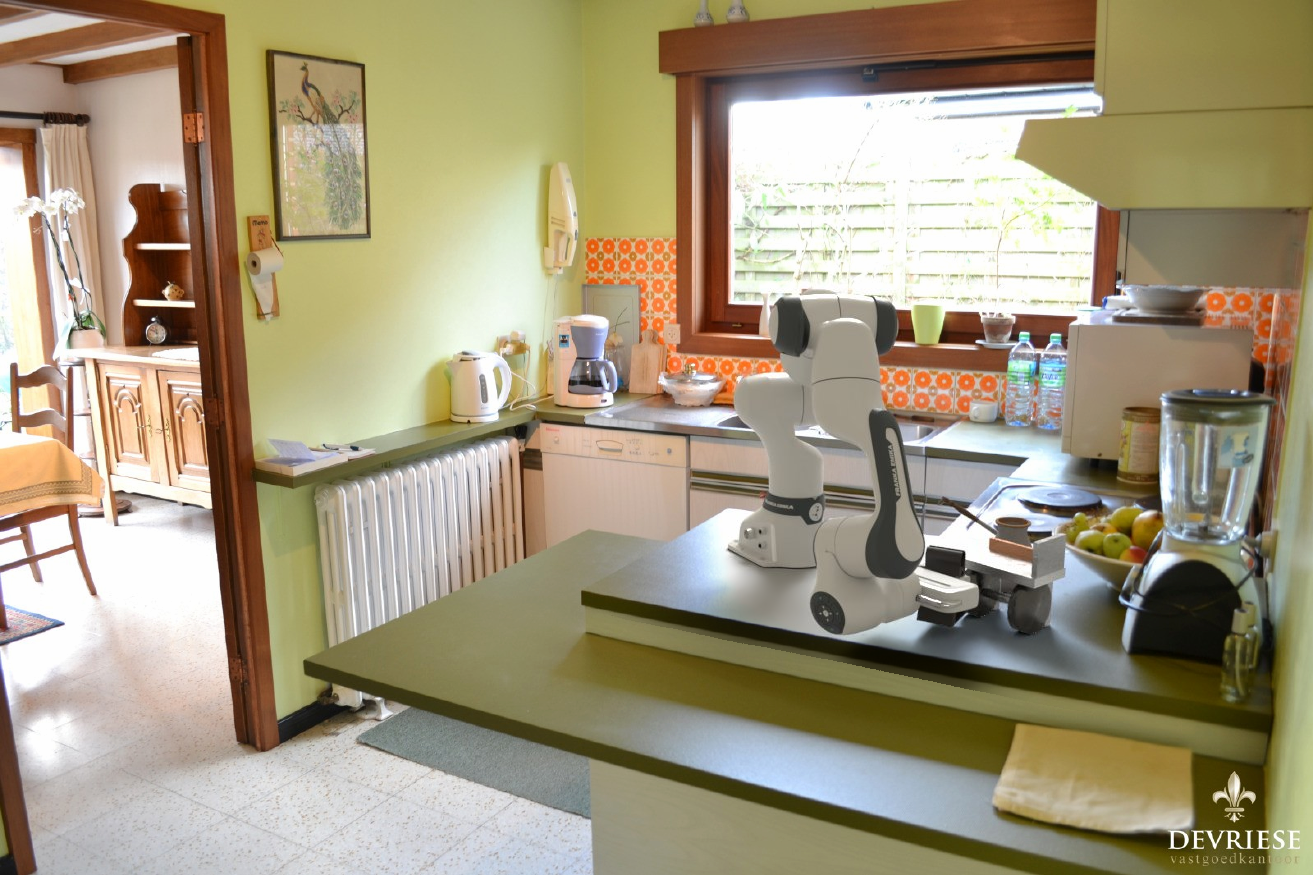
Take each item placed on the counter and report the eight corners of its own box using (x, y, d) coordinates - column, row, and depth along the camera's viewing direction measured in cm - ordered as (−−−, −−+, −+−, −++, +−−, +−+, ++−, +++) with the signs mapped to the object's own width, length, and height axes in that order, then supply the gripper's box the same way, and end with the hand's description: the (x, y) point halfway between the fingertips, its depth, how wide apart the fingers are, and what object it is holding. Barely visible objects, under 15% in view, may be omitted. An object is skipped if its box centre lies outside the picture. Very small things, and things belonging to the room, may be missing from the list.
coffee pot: (1052, 586, 194) (1057, 510, 191) (1023, 601, 186) (1028, 522, 183) (951, 561, 209) (955, 490, 206) (921, 574, 201) (924, 501, 198)
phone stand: (951, 628, 168) (955, 558, 166) (916, 620, 171) (919, 552, 169) (968, 611, 175) (971, 544, 173) (934, 605, 179) (937, 539, 176)
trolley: (949, 616, 179) (954, 525, 176) (985, 602, 185) (990, 514, 182) (1025, 642, 167) (1031, 545, 164) (1061, 627, 174) (1068, 533, 170)
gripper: (948, 589, 155) (1002, 571, 164) (847, 557, 171) (901, 542, 180) (946, 628, 157) (1000, 608, 165) (846, 593, 173) (900, 576, 181)
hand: (947, 574), depth 172 cm, fingers closed on phone stand, 6 cm apart
